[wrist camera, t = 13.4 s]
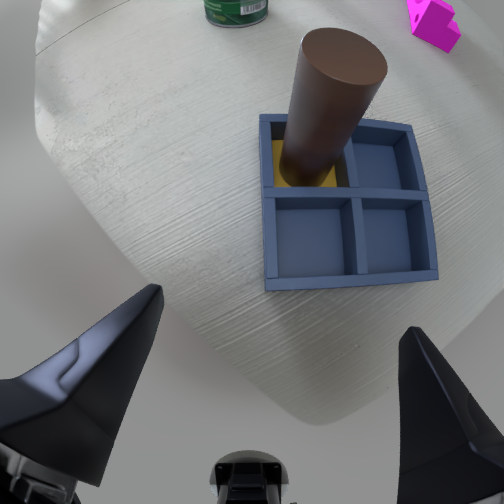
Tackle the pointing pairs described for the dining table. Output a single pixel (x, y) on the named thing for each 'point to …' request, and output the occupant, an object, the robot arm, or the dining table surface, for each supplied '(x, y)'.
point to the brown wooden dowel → (327, 101)
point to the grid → (348, 213)
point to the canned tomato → (235, 12)
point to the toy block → (434, 22)
